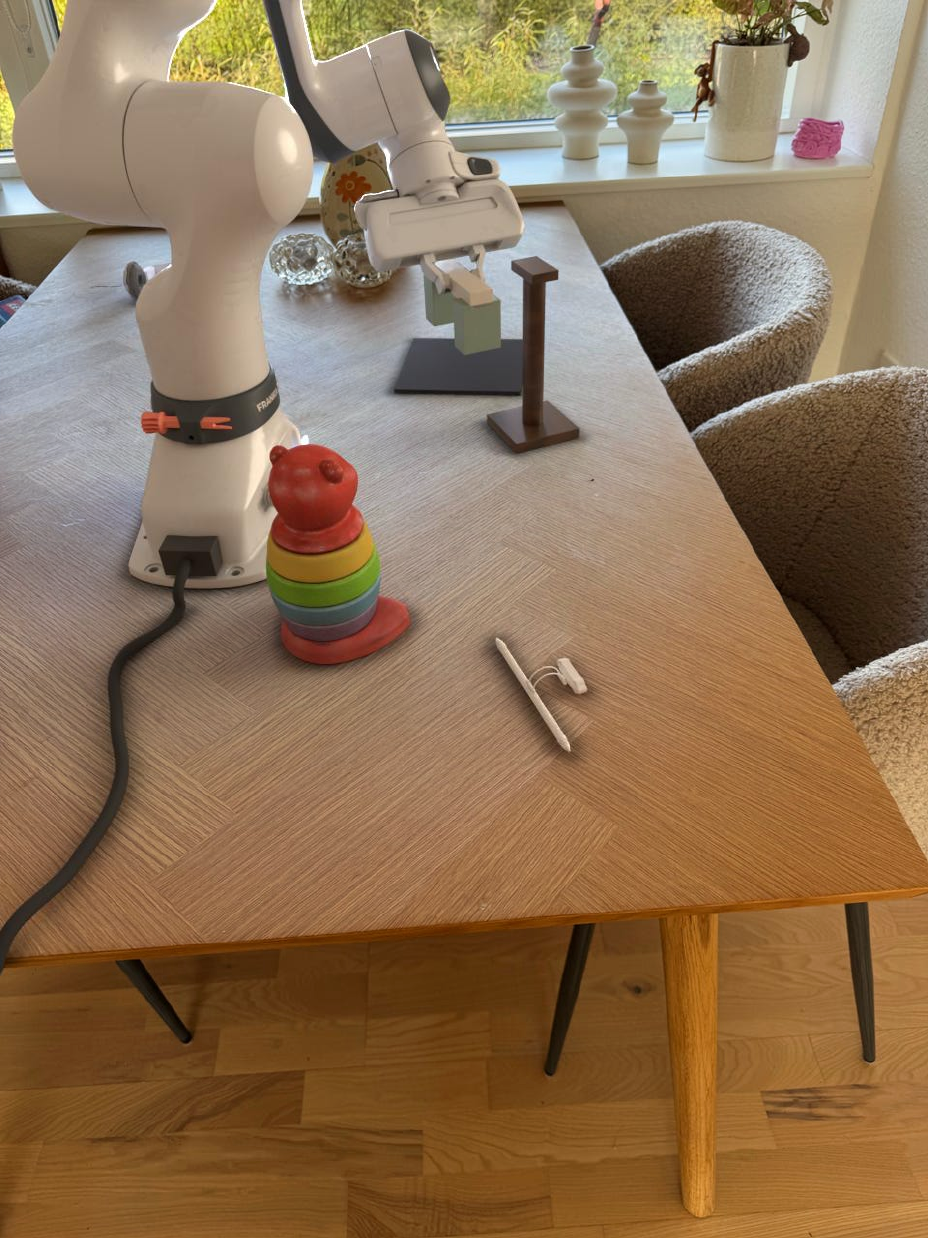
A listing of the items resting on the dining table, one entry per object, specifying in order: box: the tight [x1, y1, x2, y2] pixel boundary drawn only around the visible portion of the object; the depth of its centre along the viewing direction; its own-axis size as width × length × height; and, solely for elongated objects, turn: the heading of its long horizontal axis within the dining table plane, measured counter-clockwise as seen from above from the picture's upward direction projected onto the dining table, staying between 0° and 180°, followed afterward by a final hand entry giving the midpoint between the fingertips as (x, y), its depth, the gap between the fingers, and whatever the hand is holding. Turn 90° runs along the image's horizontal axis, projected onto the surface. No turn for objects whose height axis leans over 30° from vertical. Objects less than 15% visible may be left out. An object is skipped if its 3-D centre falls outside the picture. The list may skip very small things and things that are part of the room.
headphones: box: [89, 260, 171, 301], centre depth 145 cm, size 17×6×20 cm
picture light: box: [494, 637, 588, 753], centre depth 74 cm, size 14×4×2 cm, turn 21°
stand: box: [486, 255, 581, 454], centre depth 101 cm, size 8×8×19 cm
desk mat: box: [393, 337, 523, 396], centre depth 121 cm, size 16×16×1 cm
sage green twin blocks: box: [423, 258, 502, 355], centre depth 116 cm, size 5×13×8 cm, turn 23°
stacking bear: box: [266, 443, 411, 665], centre depth 75 cm, size 11×10×18 cm
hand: (462, 288), depth 115 cm, fingers closed on sage green twin blocks, 3 cm apart
